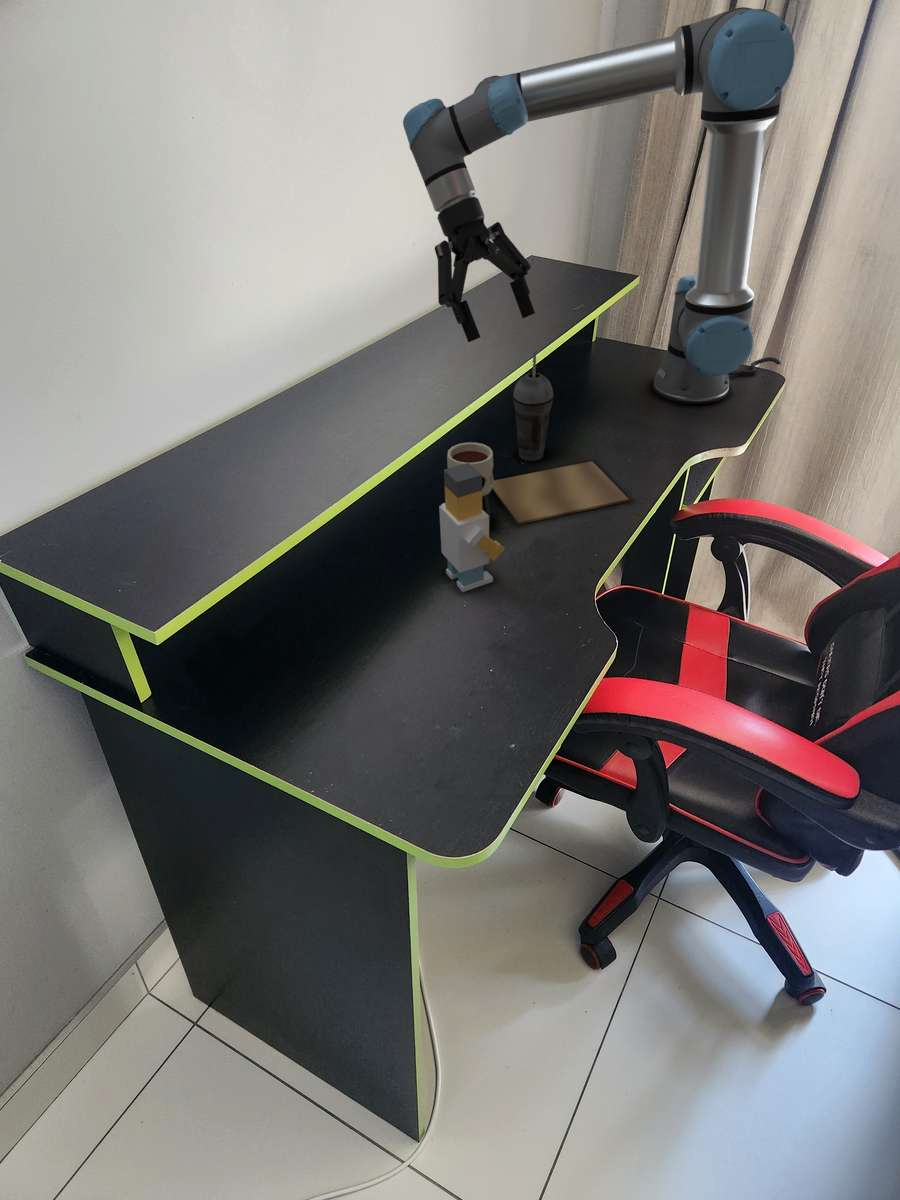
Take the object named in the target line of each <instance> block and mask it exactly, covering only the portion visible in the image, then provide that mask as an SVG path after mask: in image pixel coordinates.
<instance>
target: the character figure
mask: <svg viewBox="0 0 900 1200" xmlns="http://www.w3.org/2000/svg"><path fill="white" fill-rule="evenodd" d="M443 481H444V501H445V502H443V503H441V504H440V505H439V506H438V509H439V510H438V511H439V527H440V528H439V530H440V549H441V551H440V552H441V554H442V555H443V556H444V557H445V558H446V560H447V562H446V563H447V568H446V569H445V574H446V575H447V576H448V577H449V578H450V579H451V580H456V579H458V580H456V587H458V588H459V590H460V591H461V593H465V592H467V591H470V590H473V589H475V588H476V589H477V588H479V587H481V586H484V585H487V584H490V583H493V582H494V577H493V576H492V575H491V574H490V572H488V571H487V570H485V569H484V567H485V565H488V564H489V563H490V559H491V560H492V561H493V562H495V561H496V560H497V559H498V558H499V557H500V555H502V554H503V553H504V552H505V550H506V548H505V547H504V546H503V545H502V544H501V543H500V542H499V541H497V540H496V539H495V540H493V539H491V538H490V524H489V515H488V514H486V513H485V512H484V511H483V510H482V474H480V473H479V472H478V471H477V470H476V469H475V468H474V467H473V466H471V465H470V464H469V463H466V464H463V465H459V466H456V467H452V468H449V469H448V468H445V469H443Z"/></svg>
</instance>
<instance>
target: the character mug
mask: <svg viewBox="0 0 900 1200" xmlns="http://www.w3.org/2000/svg"><path fill="white" fill-rule="evenodd" d="M446 463H447V469H449V468H452V467H456V466H459V465H463V464H466V463H469V464H470V465H471V466H473V467H474V468H475V469H476V470H477V471H478V472H479V473H480V474H482V510H483V511H484V512H485V513H486V514H488V515H489V525H490V524H491V520H492V519H491V509H490V504H489V497H488V495H489V494H490V493H491V492H492V490H493V489H492V487H493V482H494V474H493V468H494V451H493V450H492V449H491V447H490V446H488V445H486V444H484V443H479V442H463V443H462V442H461V443H458V444H456V445H453V446H451V447H450V448H449V449H448V450H447V455H446Z"/></svg>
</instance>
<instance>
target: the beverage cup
mask: <svg viewBox="0 0 900 1200" xmlns="http://www.w3.org/2000/svg"><path fill="white" fill-rule="evenodd" d="M533 363H534V364H533ZM536 370H537V352H536V351H533V353H532V372H530V373H526V374H525V375H523V376H522V377H520V379H519V380H518V381H517V382H516V384H515V386H514V390H513V394H512V401H513V405H514V406H513V407H514V410H515V422H516V423H515V424H516V439H517V449H518V456H519V458H520V459H522V460H524V461H528V462H535V461H538V460H540V459H542V458H544V452H545V448H546V441H547V433H548V428H549V427H548V426H549V421H550V414H551V413H550V412H551V409H552V405H553V400H554V398H555V396H554V389H553V387H552V383H551V382H550V380H549V379H548V377H546V376H545V375H544V374H542V373H537V371H536Z"/></svg>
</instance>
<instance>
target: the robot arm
mask: <svg viewBox="0 0 900 1200" xmlns="http://www.w3.org/2000/svg"><path fill="white" fill-rule="evenodd" d="M794 62H795V43H794V39H793V35H792V33H791V30H790V29H789V27H788V25H786V23H785V21H784V20H783V19H782V18H781V17H780V16H778V15H777V14H776V13H775V12H772V11H770V10H767V9H764V8H752V7H744V6H742V7H734V8H732V9H729V10H726V11H722V12H721V13H718V14H716V15H713V16H711V17H708V18H705V19H702V20H699V21H696V22H692V23H689V24H685V25H681V26H678V27H677V28H676V29H675V31H674V32H673V33H672V35H670V36H667V37H662V38H659V39H654V40H649V41H645V42H641V43H637V44H632V45H628V46H623V47H619V48H615V49H611V50H607V51H603V52H598V53H594V54H589V55H585V56H581V57H576V58H573V59H569V60H565V61H560V62H555V63H551V64H547V65H543V66H539V67H535V68H530V69H526V70H521V71H519V72H514V73H509V74H505V75H490V76H488V77H485V78H483V79H482V80H481V81H480V82H479V83H478V84H477V86H476V87H475V89H474V90H473V93H471V94H469V95H468V96H466V97H464V98H463V99H461V100H460V101H458V102H456V103H454V104H451V105H449V106H446V105H445V104H444V102H443V100H442V99H441V98H430V99H428V100H425V101H424V102H420V103H418V104H417V105H415V106H413V107H411V108H410V110H409V111H408V112H406V113H405V115H404V117H403V120H402V127H403V129H404V132H405V136H406V138H407V141H408V145H409V146H408V147H409V150H410V151H411V153H412V156H413V159H414V161H415V163H416V166H417V168H418V171H419V174H420V175H421V178H422V181H423V183H424V186H425V189H426V192H427V195H428V197H429V200H430V203H431V205H432V207H433V210H434V212H436V213H438V214H437V218H436V219H437V221H438V223H439V226H440V228H441V229H440V230H441V231H442V234H443V236H444V237H446V238H447V240H442V241H441V242H439V243H438V244H436V245H435V246H434V252H435V255H436V258H437V292H438V294H437V295H438V296H437V298H438V301H437V302H438V304H439V305H440V306H444V305H445V306H446V307H447V308H451V310H452V312H453V315H454V318H455V320H456V322H457V324H458V325H461V327H462V331H463V332H464V335H465V337H466V340H467V343H470V342H471V343H472V342H473V341H476V340H477V339H480V338H481V334H480V332H479V329H478V327H477V324H476V321H475V319H474V316H473V314H472V311H471V308H470V306H469V303H468V301H467V299H465V300H462V299H463V293H464V289H465V283H466V280H467V279H466V278H467V273H468V267H469V265H470V264H471V263H473V262H475V261H477V262H478V261H480V260H481V259H483V260H485V261H488V262H490V263H491V264H492V265H493V266H495V267H496V268H497V269H498V270H500V271H501V272H503V273H504V275H506V276H507V277H508V278H509V279H511V280H513V281H511V282H509V285H510V287H511V290H512V293H513V296H514V299H515V301H516V304H517V307H518V309H519V312H520V315H521V318H522V319H525V318H527V317H531V316H533V315H534V314H536V312H535V309H534V306H533V303H532V301H531V298H530V295H531V291H530V289H529V286H528V283H527V280H526V277H525V276H528V273H529V271H530V270H531V268H532V266H531V264H530V263H529V261H528V260H527V259H526V258H525V256H524V255H523V254H522V253H521V252H520V250H519V249H518V248H517V246H515V244H514V242H513V241H512V240H511V239H510V237H508V235H507V234H506V232H505V231H504V229H503V226H502V224H501V222H499V221H497V222H495V223H493V224H492V225H489V226H488V227H487V226H486V224H485V213H484V211H483V207H482V205H481V202H480V199H479V198H478V197H476V196H475V195H476V193H477V192H476V191H477V190H476V188H475V185H474V183H473V181H472V178H471V175H470V172H469V169H468V167H467V164H466V161H465V157H467V156H470V155H472V154H473V153H475V152H477V151H478V150H480V149H482V148H485V147H486V146H488V145H490V144H493V143H494V142H496V141H498V140H500V139H502V138H504V137H506V136H511V135H513V133H514V132H515V131H517V130H519V129H520V128H522V127H524V126H525V125H526V124H527V123H528V122H533V121H538V120H543V119H548V118H552V117H557V116H561V115H566V114H571V113H574V112H575V113H576V112H579V111H580V112H581V111H585V110H589V109H594V108H599V107H603V106H608V105H612V104H617V103H622V102H626V101H627V102H628V101H631V100H636V99H641V98H645V97H649V96H653V95H659V94H664V93H668V92H675V93H676V94H678V96H680V97H682V96H686V95H691V94H699V93H701V94H702V96H701V107H700V109H701V110H700V122H701V123H702V125H703V126H704V127H705V128H706V129H707V131H708V142H707V152H706V153H707V154H706V165H705V175H704V185H703V187H704V188H703V198H702V207H701V208H702V210H701V220H700V231H699V242H698V253H697V265H696V273H694V274H693V273H692V274H686V275H684V276H682V277H681V278H679V279H678V281H677V283H676V289H675V291H674V302H673V309H672V315H671V322H670V330H669V335H668V336H669V337H668V343H667V351H666V353H665V355H664V357H663V359H662V361H661V363H660V366H659V368H658V370H657V372H656V374H655V376H654V379H653V385H652V386H653V387H652V389H653V391H654V392H655V393H656V394H657V395H658V396H659V397H661V398H663V399H665V400H667V401H671V402H674V403H678V404H683V405H684V404H685V405H707V404H713V403H717V402H719V401H722V400H723V399H725V398H726V397H727V395H728V394H729V390H730V389H729V388H730V378H729V376H734V375H735V376H736V375H737V376H738V375H743V376H744V375H746V376H747V375H755V374H756V372H757V371H758V369H757V365H760V364H763V363H767V362H772V363H774V364H776V365H782V363H781V361H780V360H779V359H778V358H777V357H773V356H767V357H763V358H759V359H757V360H755V361H752V362H751V363H750V366H749V367H750V369H749V370H748V369H747V370H746V369H739V368H740V367H741V366H743V365H744V364H745V363H746V362H747V361H748V359H749V357H750V356H751V355H752V352H753V350H754V346H755V336H754V334H755V332H754V330H753V327H752V325H751V322H752V313H753V307H754V299H755V292H754V290H752V289H751V288H750V287H749V285H748V284H747V283H748V274H749V266H750V260H751V259H750V258H751V252H752V245H753V244H752V243H753V235H754V228H755V222H756V212H757V204H758V196H759V190H760V182H761V173H762V165H763V158H764V150H765V142H766V134H767V129H768V127H769V126H770V125H771V124H772V123H773V122H774V121H775V120H776V119H777V117H778V116H779V113H780V107H781V102H782V92H783V89H784V87H785V86H786V84H787V82H788V80H789V78H790V76H791V74H792V70H793V68H794ZM452 253H453V254H454V259H452V258H453V257H452ZM737 369H738V370H737Z"/></svg>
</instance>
